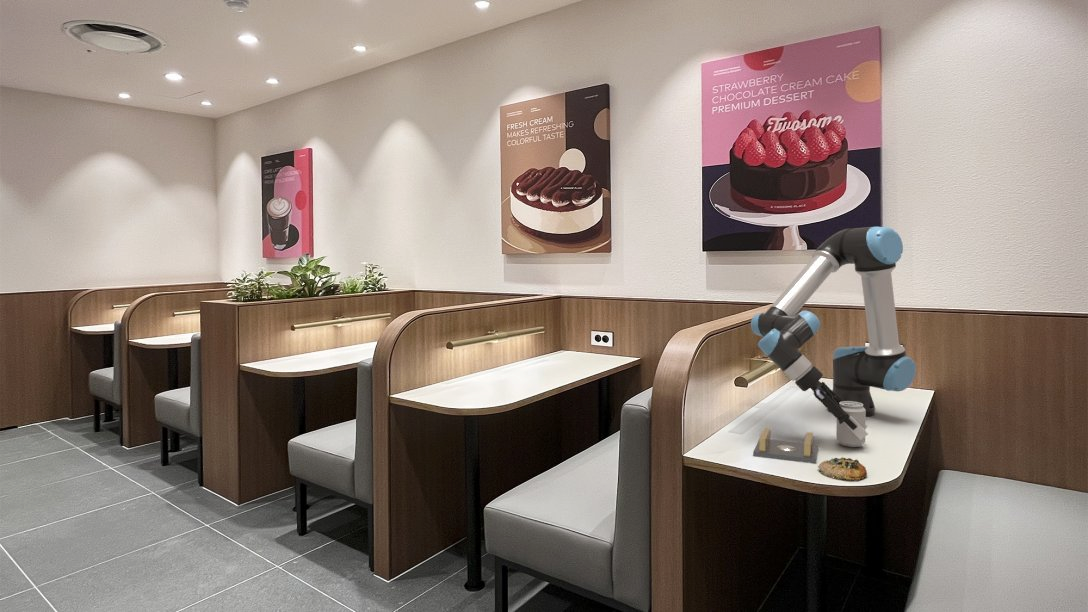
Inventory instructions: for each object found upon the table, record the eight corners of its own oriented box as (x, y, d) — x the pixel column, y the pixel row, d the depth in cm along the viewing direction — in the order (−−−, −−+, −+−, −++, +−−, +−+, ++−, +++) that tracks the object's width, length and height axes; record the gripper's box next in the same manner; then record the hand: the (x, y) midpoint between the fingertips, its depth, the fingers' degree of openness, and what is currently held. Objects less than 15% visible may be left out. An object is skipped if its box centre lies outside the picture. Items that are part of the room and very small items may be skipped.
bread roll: (860, 467, 161) (860, 449, 160) (872, 488, 150) (872, 469, 149) (814, 466, 163) (814, 448, 162) (823, 487, 153) (823, 468, 152)
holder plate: (753, 455, 172) (753, 439, 171) (759, 442, 184) (759, 426, 184) (815, 463, 164) (816, 446, 164) (818, 448, 177) (818, 432, 177)
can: (831, 440, 182) (831, 400, 181) (855, 439, 182) (855, 399, 182) (845, 448, 174) (846, 406, 173) (870, 447, 175) (871, 405, 174)
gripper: (796, 375, 193) (853, 431, 187) (791, 388, 175) (854, 451, 169) (815, 359, 190) (873, 415, 184) (811, 371, 172) (876, 434, 166)
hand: (864, 432), depth 177 cm, fingers closed on can, 7 cm apart
